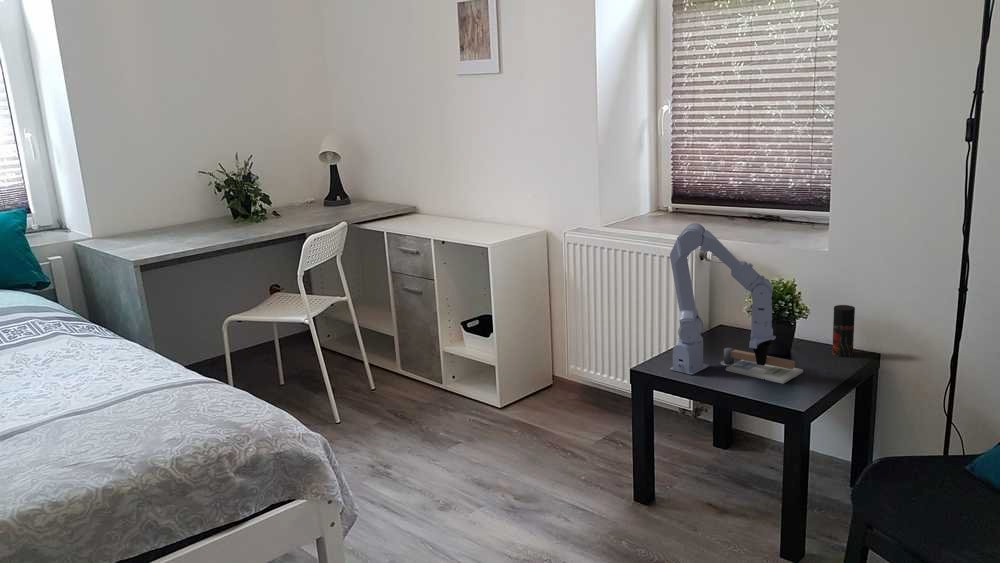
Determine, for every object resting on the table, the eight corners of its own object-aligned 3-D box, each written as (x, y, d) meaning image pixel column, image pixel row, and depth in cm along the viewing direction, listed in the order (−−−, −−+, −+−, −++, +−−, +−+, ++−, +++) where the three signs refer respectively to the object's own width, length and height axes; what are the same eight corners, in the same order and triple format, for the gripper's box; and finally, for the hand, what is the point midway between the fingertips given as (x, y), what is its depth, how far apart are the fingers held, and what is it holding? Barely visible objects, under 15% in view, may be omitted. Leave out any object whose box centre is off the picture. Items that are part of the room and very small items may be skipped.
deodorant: (854, 357, 251) (856, 310, 247) (834, 356, 252) (835, 310, 249) (850, 350, 257) (852, 304, 253) (830, 350, 258) (832, 304, 254)
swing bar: (721, 362, 252) (722, 349, 251) (726, 359, 254) (726, 347, 253) (791, 376, 237) (791, 363, 236) (795, 373, 239) (795, 360, 238)
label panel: (783, 383, 233) (783, 380, 233) (711, 367, 250) (711, 364, 250) (803, 372, 241) (803, 369, 241) (731, 356, 258) (731, 353, 258)
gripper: (766, 328, 231) (766, 374, 234) (783, 315, 243) (782, 359, 246) (742, 325, 235) (742, 370, 239) (759, 313, 247) (759, 356, 250)
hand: (761, 364), depth 242 cm, fingers closed
